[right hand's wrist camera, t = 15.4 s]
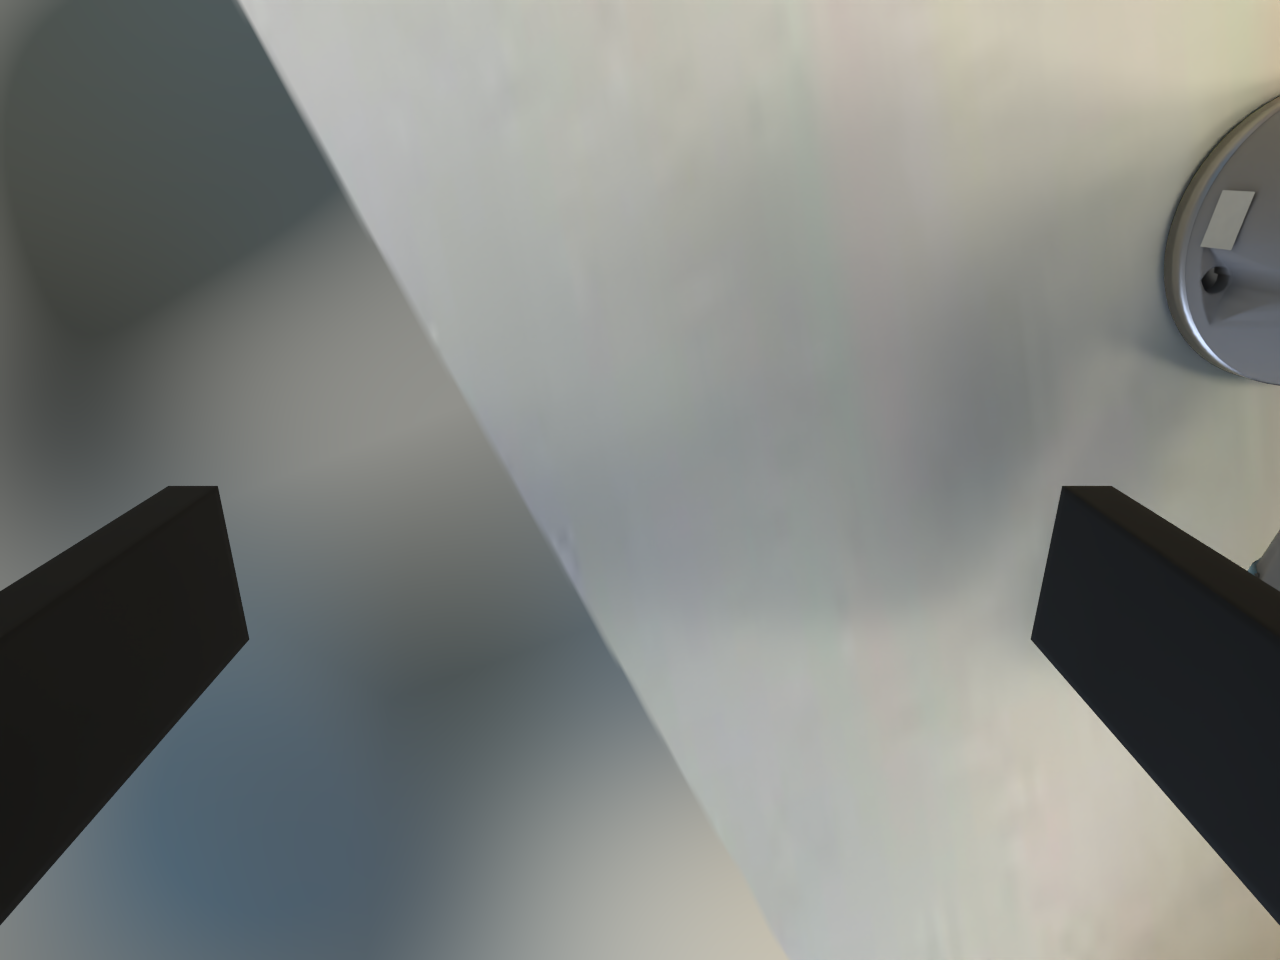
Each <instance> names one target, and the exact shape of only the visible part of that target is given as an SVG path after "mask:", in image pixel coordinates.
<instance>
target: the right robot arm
mask: <svg viewBox="0 0 1280 960" xmlns="http://www.w3.org/2000/svg"><path fill="white" fill-rule="evenodd" d="M1164 283H1165V291H1166V297H1167V301H1168V305H1169V309H1170V312H1171V314H1172V317H1173V320H1174V322H1175V324H1176V326H1177V328H1178V330H1179V331H1180V333H1181V334H1182V336H1183V337H1184V339H1185V340H1186V341H1187V343H1188V344H1189V345H1190V346H1191V347H1192V348H1193V349H1194V350H1195V351H1196V352H1197V353H1198V354H1199V355H1200V356H1201V357H1203V358H1204V359H1206V360H1207V361H1208V362H1210V363H1211V364H1213V365H1215V366H1217V367H1219V368H1221V369H1223V370H1225V371H1228V372H1230V373H1233V374H1236V375H1239V376H1242V377H1246V378H1249V379H1252V380H1255V381H1259V382H1263V383H1267V384H1273V385H1280V96H1279V97H1278V98H1276V99H1274V100H1272V101H1271V102H1269V103H1267V104H1266V105H1264V106H1263V107H1261V108H1260V109H1258V110H1257V111H1255V112H1254V113H1252V114H1251V115H1250V116H1248V117H1247V118H1246V119H1245V120H1244V121H1242V122H1241V123H1240V124H1239V125H1237V126H1236V127H1235V128H1234V129H1233V130H1232V131H1231V132H1230V133H1229V134H1228V135H1227V136H1226V137H1225V138H1224V139H1223V140H1222V141H1221V142H1220V143H1219V144H1218V145H1217V146H1216V147H1215V149H1214V150H1213V151H1212V152H1211V153H1210V155H1209V156H1208V157H1207V158H1206V160H1205V161H1204V162H1203V164H1202V165H1201V166H1200V168H1199V169H1198V171H1197V172H1196V174H1195V175H1194V177H1193V178H1192V180H1191V182H1190V184H1189V186H1188V187H1187V189H1186V191H1185V193H1184V195H1183V197H1182V199H1181V201H1180V203H1179V206H1178V208H1177V210H1176V213H1175V216H1174V219H1173V221H1172V225H1171V228H1170V232H1169V236H1168V240H1167V246H1166V251H1165V262H1164ZM248 640H249V636H248V631H247V626H246V621H245V616H244V611H243V607H242V602H241V597H240V592H239V587H238V582H237V577H236V573H235V568H234V563H233V558H232V553H231V548H230V544H229V539H228V534H227V529H226V524H225V519H224V514H223V509H222V505H221V500H220V495H219V490H218V486H168V487H166V488H165V489H163V490H161V491H160V492H158V493H157V494H155V495H153V496H152V497H150V498H149V499H147V500H145V501H144V502H142V503H141V504H139V505H137V506H136V507H134V508H133V509H131V510H130V511H128V512H126V513H125V514H123V515H121V516H120V517H118V518H117V519H115V520H113V521H112V522H110V523H109V524H107V525H105V526H104V527H102V528H101V529H99V530H97V531H96V532H94V533H93V534H91V535H90V536H88V537H86V538H85V539H83V540H82V541H80V542H78V543H77V544H75V545H74V546H72V547H70V548H69V549H67V550H66V551H64V552H62V553H61V554H59V555H58V556H56V557H54V558H53V559H51V560H50V561H48V562H46V563H45V564H43V565H42V566H40V567H38V568H37V569H35V570H34V571H32V572H31V573H29V574H27V575H26V576H24V577H23V578H21V579H19V580H18V581H16V582H14V583H13V584H11V585H10V586H8V587H7V588H5V589H3V590H2V591H0V925H1V924H2V923H3V922H4V920H5V919H6V918H7V917H8V916H9V915H10V913H11V912H12V911H13V910H14V909H15V908H16V906H17V905H18V904H19V903H20V902H21V901H22V900H23V898H24V897H25V896H26V895H27V894H28V893H29V892H30V890H31V889H32V888H33V887H34V886H35V885H36V884H37V882H38V881H39V880H40V879H41V878H42V877H43V876H44V874H45V873H46V872H47V871H48V870H49V869H50V868H51V866H52V865H53V864H54V863H55V862H56V861H57V859H58V858H59V857H60V856H61V855H62V854H63V853H64V851H65V850H66V849H67V848H68V847H69V846H70V845H71V843H72V842H73V841H74V840H75V839H76V838H77V837H78V835H79V834H80V833H81V832H82V831H83V830H84V828H85V827H86V826H87V825H88V824H89V823H90V822H91V820H92V819H93V818H94V817H95V816H96V815H97V814H98V812H99V811H100V810H101V809H102V808H103V807H104V806H105V804H106V803H107V802H108V801H109V800H110V799H111V797H112V796H113V795H114V794H115V793H116V792H117V791H118V789H119V788H120V787H121V786H122V785H123V784H124V783H125V781H126V780H127V779H128V778H129V777H130V776H131V774H132V773H133V772H134V771H135V770H136V769H137V768H138V766H139V765H140V764H141V763H142V762H143V761H144V760H145V758H146V757H147V756H148V755H149V754H150V753H151V751H152V750H153V749H154V748H155V747H156V746H157V745H158V744H159V742H160V741H161V740H162V739H163V738H164V737H165V735H166V734H167V733H168V732H169V731H170V730H171V729H172V727H173V726H174V725H175V724H176V723H177V722H178V720H179V719H180V718H181V717H182V716H183V715H184V714H185V713H186V711H187V710H188V709H189V708H190V707H191V706H192V704H193V703H194V702H195V701H196V700H197V699H198V698H199V696H200V695H201V694H202V693H203V692H204V691H205V690H206V688H207V687H208V686H209V685H210V684H211V683H212V682H213V680H214V679H215V678H216V677H217V676H218V675H219V673H220V672H221V671H222V670H223V669H224V668H225V667H226V665H227V664H228V663H229V662H230V661H231V660H232V659H233V657H234V656H235V655H236V654H237V653H238V652H239V651H240V649H241V648H242V647H243V646H244V645H245V644H246V642H247V641H248ZM1031 640H1032V641H1033V642H1034V644H1035V645H1036V646H1037V647H1038V648H1039V649H1040V651H1041V652H1042V653H1043V654H1044V655H1045V656H1046V657H1047V659H1048V660H1049V661H1050V662H1051V663H1052V664H1053V665H1054V667H1055V668H1056V669H1057V670H1058V671H1059V672H1060V673H1061V675H1062V676H1063V677H1064V678H1065V679H1066V680H1067V682H1068V683H1069V684H1070V685H1071V686H1072V687H1073V688H1074V690H1075V691H1076V692H1077V693H1078V694H1079V695H1080V696H1081V698H1082V699H1083V700H1084V701H1085V702H1086V703H1087V704H1088V706H1089V707H1090V708H1091V709H1092V710H1093V711H1094V713H1095V714H1096V715H1097V716H1098V717H1099V718H1100V719H1101V721H1102V722H1103V723H1104V724H1105V725H1106V726H1107V727H1108V729H1109V730H1110V731H1111V732H1112V733H1113V734H1114V735H1115V737H1116V738H1117V739H1118V740H1119V741H1120V742H1121V744H1122V745H1123V746H1124V747H1125V748H1126V749H1127V750H1128V752H1129V753H1130V754H1131V755H1132V756H1133V757H1134V758H1135V760H1136V761H1137V762H1138V763H1139V764H1140V765H1141V766H1142V768H1143V769H1144V770H1145V771H1146V772H1147V773H1148V775H1149V776H1150V777H1151V778H1152V779H1153V780H1154V781H1155V783H1156V784H1157V785H1158V786H1159V787H1160V788H1161V789H1162V791H1163V792H1164V793H1165V794H1166V795H1167V796H1168V797H1169V799H1170V800H1171V801H1172V802H1173V803H1174V804H1175V806H1176V807H1177V808H1178V809H1179V810H1180V811H1181V812H1182V814H1183V815H1184V816H1185V817H1186V818H1187V819H1188V820H1189V822H1190V823H1191V824H1192V825H1193V826H1194V827H1195V828H1196V830H1197V831H1198V832H1199V833H1200V834H1201V835H1202V837H1203V838H1204V839H1205V840H1206V841H1207V842H1208V843H1209V845H1210V846H1211V847H1212V848H1213V849H1214V850H1215V851H1216V853H1217V854H1218V855H1219V856H1220V857H1221V858H1222V859H1223V861H1224V862H1225V863H1226V864H1227V865H1228V866H1229V868H1230V869H1231V870H1232V871H1233V872H1234V873H1235V874H1236V876H1237V877H1238V878H1239V879H1240V880H1241V881H1242V882H1243V884H1244V885H1245V886H1246V887H1247V888H1248V889H1249V891H1250V892H1251V893H1252V894H1253V895H1254V896H1255V897H1256V899H1257V900H1258V901H1259V902H1260V903H1261V904H1262V905H1263V907H1264V908H1265V909H1266V910H1267V911H1268V912H1269V913H1270V915H1271V916H1272V917H1273V918H1274V919H1275V920H1276V922H1277V923H1278V924H1279V925H1280V530H1279V532H1278V533H1277V535H1276V536H1275V538H1274V539H1273V541H1272V542H1271V544H1270V545H1269V547H1268V548H1267V550H1266V551H1265V553H1264V554H1263V556H1262V557H1261V558H1260V559H1258V560H1257V561H1255V562H1253V563H1252V565H1251V566H1250V567H1249V569H1248V571H1246V570H1245V569H1243V568H1242V567H1240V566H1238V565H1237V564H1235V563H1234V562H1232V561H1230V560H1229V559H1227V558H1226V557H1224V556H1222V555H1221V554H1219V553H1218V552H1216V551H1214V550H1213V549H1211V548H1210V547H1208V546H1206V545H1205V544H1203V543H1202V542H1200V541H1198V540H1197V539H1195V538H1194V537H1192V536H1190V535H1189V534H1187V533H1186V532H1184V531H1183V530H1181V529H1179V528H1178V527H1176V526H1175V525H1173V524H1171V523H1170V522H1168V521H1167V520H1165V519H1163V518H1162V517H1160V516H1159V515H1157V514H1155V513H1154V512H1152V511H1151V510H1149V509H1147V508H1146V507H1144V506H1143V505H1141V504H1139V503H1138V502H1136V501H1135V500H1133V499H1131V498H1130V497H1128V496H1127V495H1125V494H1123V493H1122V492H1120V491H1119V490H1117V489H1115V488H1114V487H1112V486H1062V490H1061V495H1060V500H1059V505H1058V509H1057V514H1056V519H1055V524H1054V529H1053V534H1052V539H1051V543H1050V548H1049V553H1048V558H1047V563H1046V568H1045V573H1044V577H1043V582H1042V587H1041V592H1040V597H1039V602H1038V607H1037V611H1036V616H1035V621H1034V626H1033V631H1032V636H1031Z"/></svg>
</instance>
